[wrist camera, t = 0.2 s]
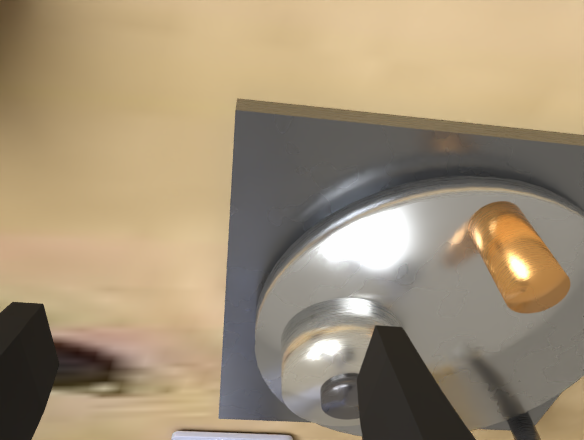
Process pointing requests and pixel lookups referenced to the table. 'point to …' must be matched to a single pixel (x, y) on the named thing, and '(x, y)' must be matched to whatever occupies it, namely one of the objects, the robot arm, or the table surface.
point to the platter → (450, 287)
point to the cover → (328, 358)
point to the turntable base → (342, 191)
